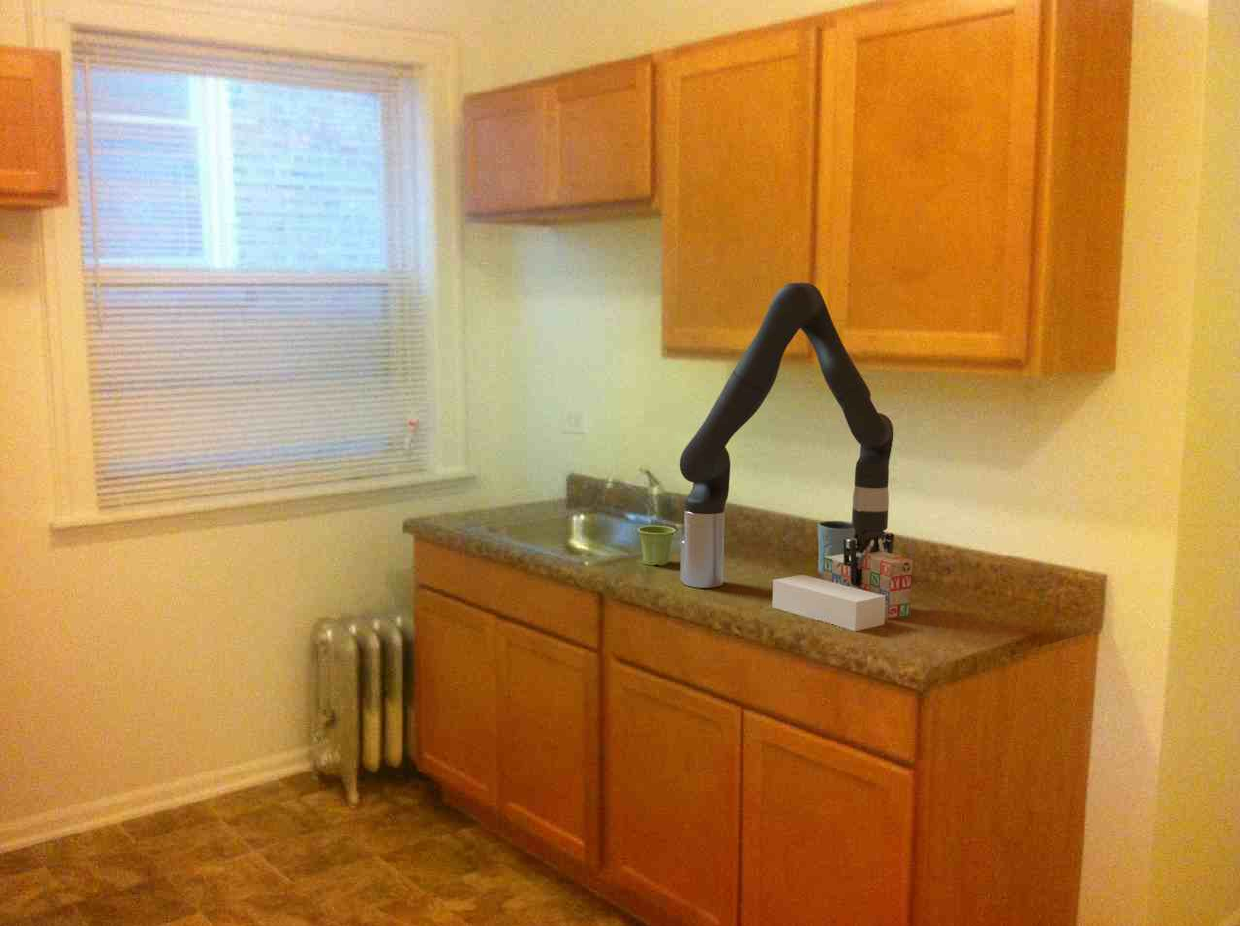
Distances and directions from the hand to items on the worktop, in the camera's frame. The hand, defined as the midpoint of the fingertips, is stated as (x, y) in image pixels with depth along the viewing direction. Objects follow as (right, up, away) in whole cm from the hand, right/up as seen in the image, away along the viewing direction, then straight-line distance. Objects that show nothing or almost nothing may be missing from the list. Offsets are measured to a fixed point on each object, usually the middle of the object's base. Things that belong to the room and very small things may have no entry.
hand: (867, 582), depth 252 cm
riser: (-10, -6, -7) cm, 14 cm away
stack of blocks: (0, -5, +1) cm, 6 cm away
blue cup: (0, -1, +33) cm, 33 cm away
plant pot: (-44, 0, +41) cm, 60 cm away
